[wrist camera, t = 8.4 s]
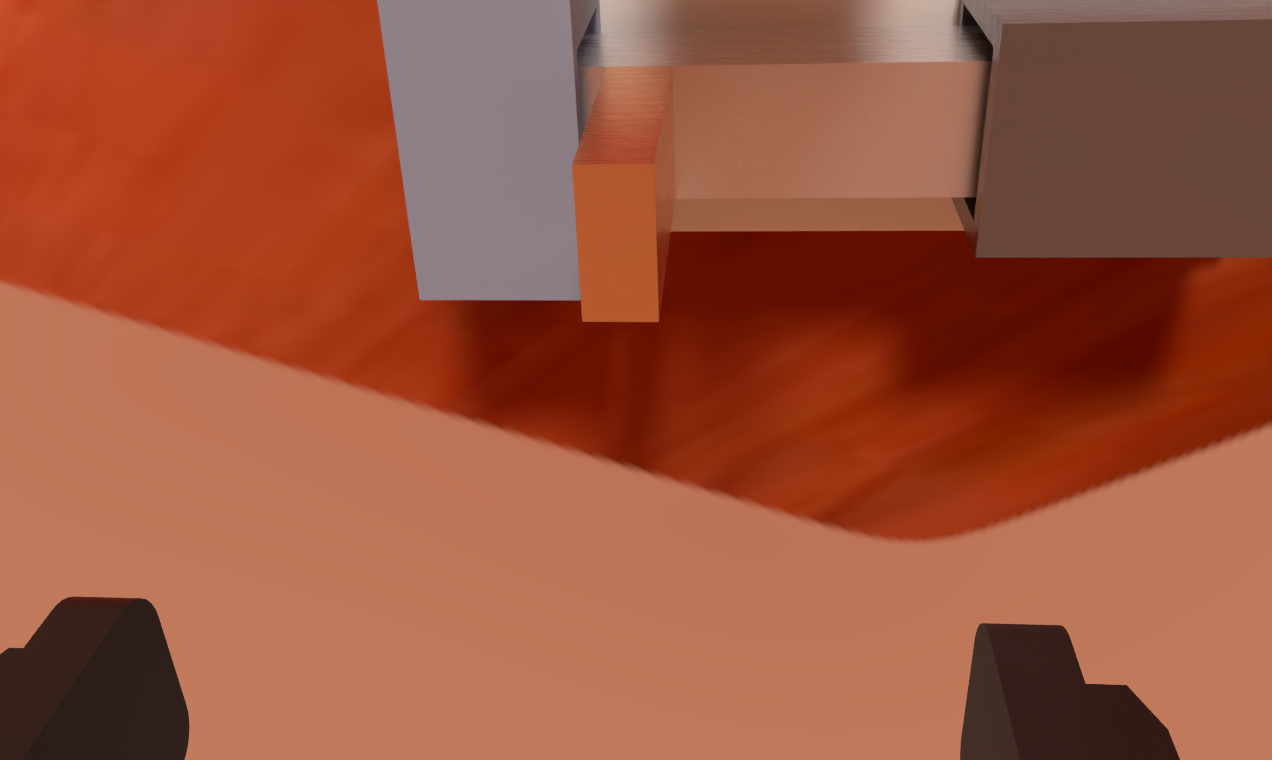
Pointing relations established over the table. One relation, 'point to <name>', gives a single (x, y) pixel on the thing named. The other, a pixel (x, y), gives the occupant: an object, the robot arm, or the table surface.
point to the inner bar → (760, 132)
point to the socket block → (489, 142)
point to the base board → (780, 5)
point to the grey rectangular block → (1124, 129)
